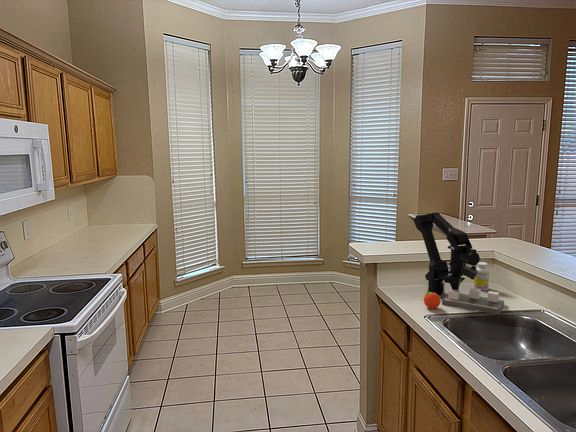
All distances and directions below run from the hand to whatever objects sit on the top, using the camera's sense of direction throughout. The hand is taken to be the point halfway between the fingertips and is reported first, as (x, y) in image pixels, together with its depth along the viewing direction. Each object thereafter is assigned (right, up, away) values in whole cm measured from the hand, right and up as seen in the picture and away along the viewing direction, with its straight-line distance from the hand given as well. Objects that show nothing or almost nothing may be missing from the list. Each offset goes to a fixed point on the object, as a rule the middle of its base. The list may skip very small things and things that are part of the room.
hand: (455, 293), depth 194 cm
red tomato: (-14, -5, -7) cm, 16 cm away
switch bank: (+6, -4, -4) cm, 8 cm away
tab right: (+14, -2, -6) cm, 15 cm away
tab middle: (+8, -1, -2) cm, 8 cm away
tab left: (-2, -2, -2) cm, 3 cm away
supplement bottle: (+20, -1, +18) cm, 27 cm away
